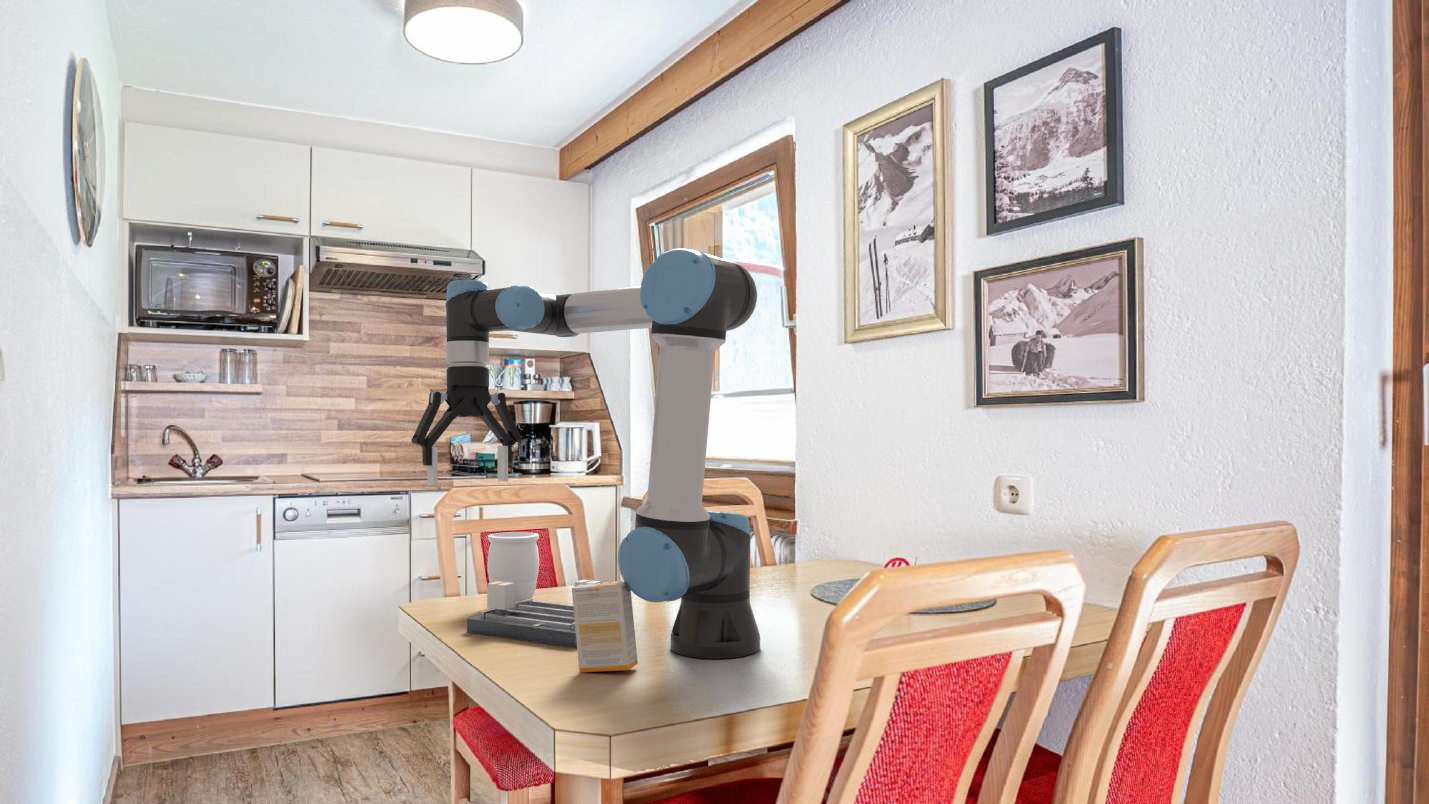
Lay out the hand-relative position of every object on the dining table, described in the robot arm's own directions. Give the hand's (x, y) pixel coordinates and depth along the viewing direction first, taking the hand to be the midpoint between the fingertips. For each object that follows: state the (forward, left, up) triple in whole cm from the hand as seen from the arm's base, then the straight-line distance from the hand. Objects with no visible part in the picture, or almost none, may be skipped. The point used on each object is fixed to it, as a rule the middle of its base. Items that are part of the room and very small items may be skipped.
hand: (468, 482), depth 170 cm
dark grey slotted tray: (-12, -9, -27) cm, 31 cm away
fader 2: (-17, -13, -24) cm, 32 cm away
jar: (+7, -21, -27) cm, 35 cm away
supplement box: (-37, +9, -27) cm, 47 cm away
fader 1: (-4, -4, -24) cm, 25 cm away
